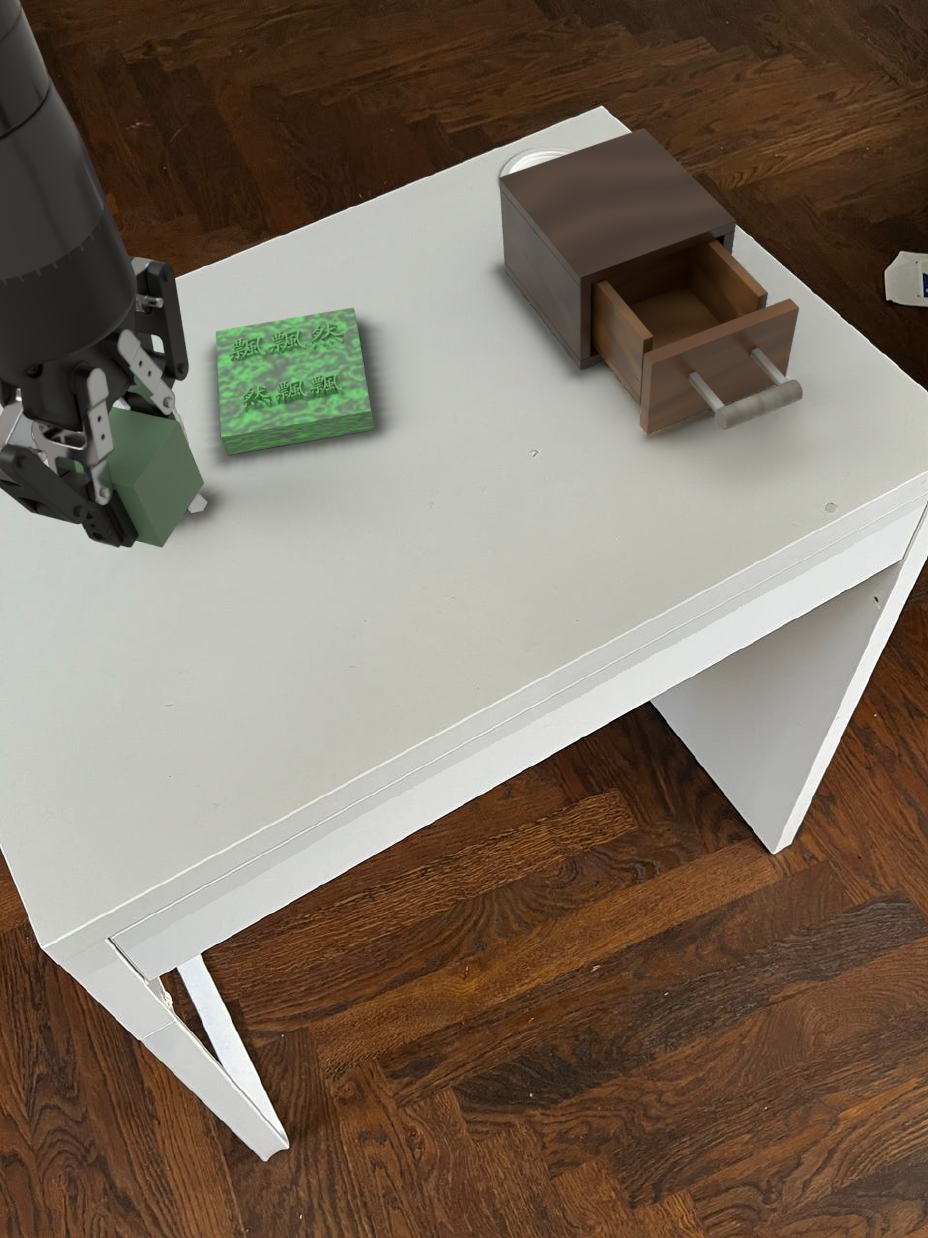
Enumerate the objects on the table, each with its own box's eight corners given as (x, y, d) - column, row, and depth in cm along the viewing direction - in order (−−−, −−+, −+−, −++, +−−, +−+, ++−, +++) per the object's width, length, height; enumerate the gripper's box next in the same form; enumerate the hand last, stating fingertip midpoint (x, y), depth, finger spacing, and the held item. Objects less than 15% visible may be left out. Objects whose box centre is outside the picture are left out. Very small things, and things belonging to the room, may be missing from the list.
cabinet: (724, 315, 91) (736, 220, 84) (580, 369, 89) (580, 277, 82) (639, 221, 99) (643, 127, 92) (504, 269, 97) (498, 177, 89)
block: (204, 483, 59) (179, 420, 56) (162, 548, 57) (133, 487, 53) (130, 465, 61) (101, 403, 57) (86, 528, 58) (52, 468, 55)
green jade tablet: (227, 455, 87) (219, 432, 85) (221, 349, 94) (214, 326, 92) (374, 429, 87) (369, 405, 85) (357, 325, 94) (352, 302, 92)
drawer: (827, 427, 82) (845, 353, 77) (685, 484, 80) (692, 413, 75) (697, 284, 92) (705, 210, 86) (567, 332, 90) (567, 260, 84)
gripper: (-19, 351, 40) (138, 629, 54) (178, 121, 47) (271, 418, 61) (-187, 315, 42) (6, 592, 56) (27, 100, 49) (151, 392, 63)
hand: (144, 500), depth 59 cm, fingers closed on block, 4 cm apart
